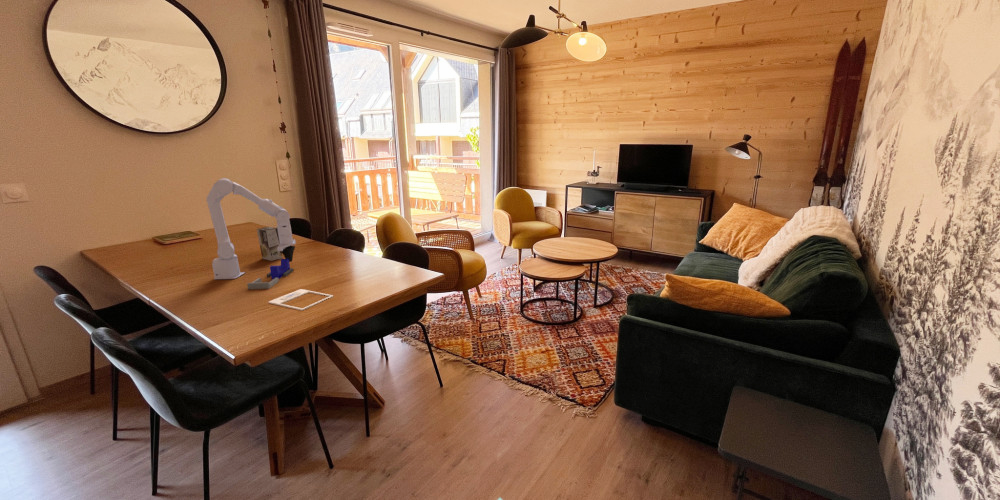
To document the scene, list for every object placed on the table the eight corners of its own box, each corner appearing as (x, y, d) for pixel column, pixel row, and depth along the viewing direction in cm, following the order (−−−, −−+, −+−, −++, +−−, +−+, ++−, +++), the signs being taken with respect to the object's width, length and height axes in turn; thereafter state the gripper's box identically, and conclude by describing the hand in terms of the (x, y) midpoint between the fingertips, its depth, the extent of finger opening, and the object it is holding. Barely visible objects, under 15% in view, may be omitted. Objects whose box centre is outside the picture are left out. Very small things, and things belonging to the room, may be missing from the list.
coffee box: (283, 258, 211) (278, 228, 206) (271, 261, 205) (265, 230, 201) (273, 255, 215) (268, 226, 211) (261, 258, 210) (256, 228, 206)
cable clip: (280, 271, 190) (278, 259, 189) (290, 270, 191) (288, 258, 189) (268, 279, 179) (266, 266, 177) (278, 279, 179) (276, 266, 177)
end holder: (248, 289, 167) (247, 283, 166) (259, 281, 175) (258, 276, 175) (268, 288, 167) (267, 283, 167) (278, 281, 176) (278, 276, 175)
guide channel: (266, 276, 182) (266, 274, 181) (275, 271, 189) (275, 268, 189) (285, 276, 182) (285, 273, 182) (293, 270, 190) (293, 268, 189)
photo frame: (300, 288, 165) (333, 295, 158) (301, 291, 166) (333, 297, 158) (268, 301, 152) (301, 308, 145) (268, 303, 153) (302, 311, 146)
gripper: (286, 237, 184) (291, 265, 188) (300, 230, 198) (304, 256, 202) (270, 238, 184) (275, 266, 187) (285, 230, 198) (289, 257, 201)
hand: (289, 261), depth 195 cm, fingers closed
